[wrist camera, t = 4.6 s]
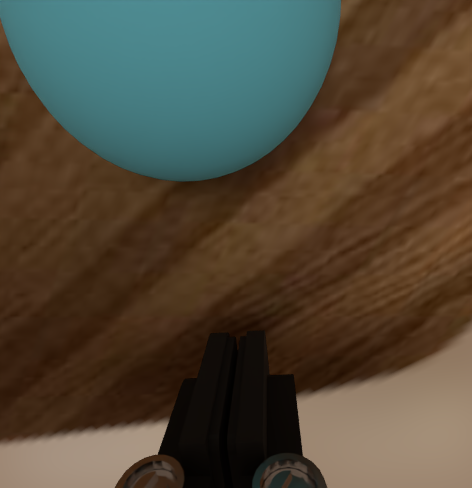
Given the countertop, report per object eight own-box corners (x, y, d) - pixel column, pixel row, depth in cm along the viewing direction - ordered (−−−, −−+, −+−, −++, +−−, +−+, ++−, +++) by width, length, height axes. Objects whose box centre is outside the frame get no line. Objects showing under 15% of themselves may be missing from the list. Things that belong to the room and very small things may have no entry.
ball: (125, 178, 11) (-34, 227, 5) (76, -53, 9) (-255, -384, 3) (319, 156, 10) (393, 183, 4) (308, -98, 8) (408, -617, 3)
